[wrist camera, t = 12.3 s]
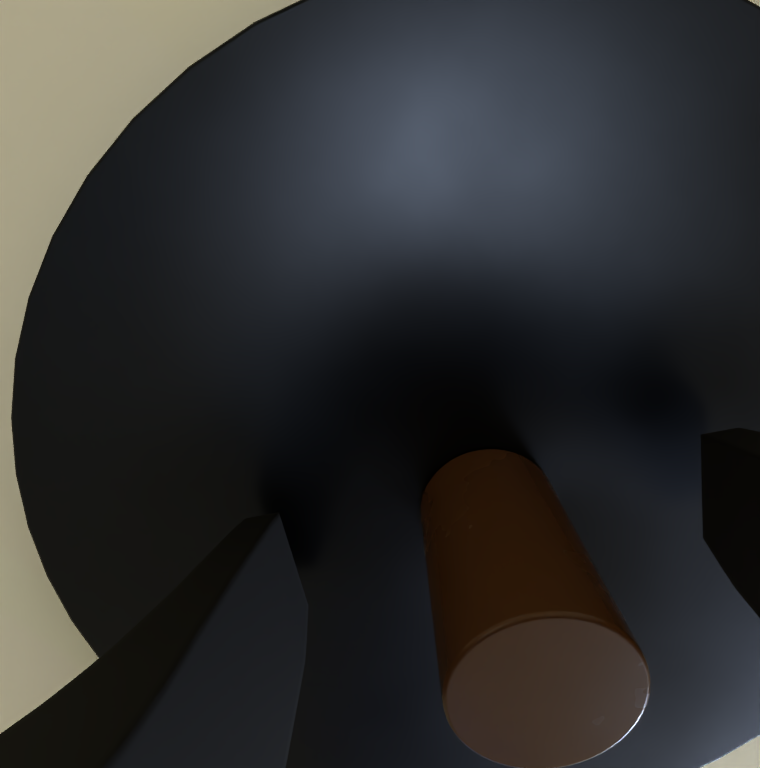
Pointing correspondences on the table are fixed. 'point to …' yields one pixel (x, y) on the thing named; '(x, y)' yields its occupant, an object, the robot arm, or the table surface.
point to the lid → (426, 369)
